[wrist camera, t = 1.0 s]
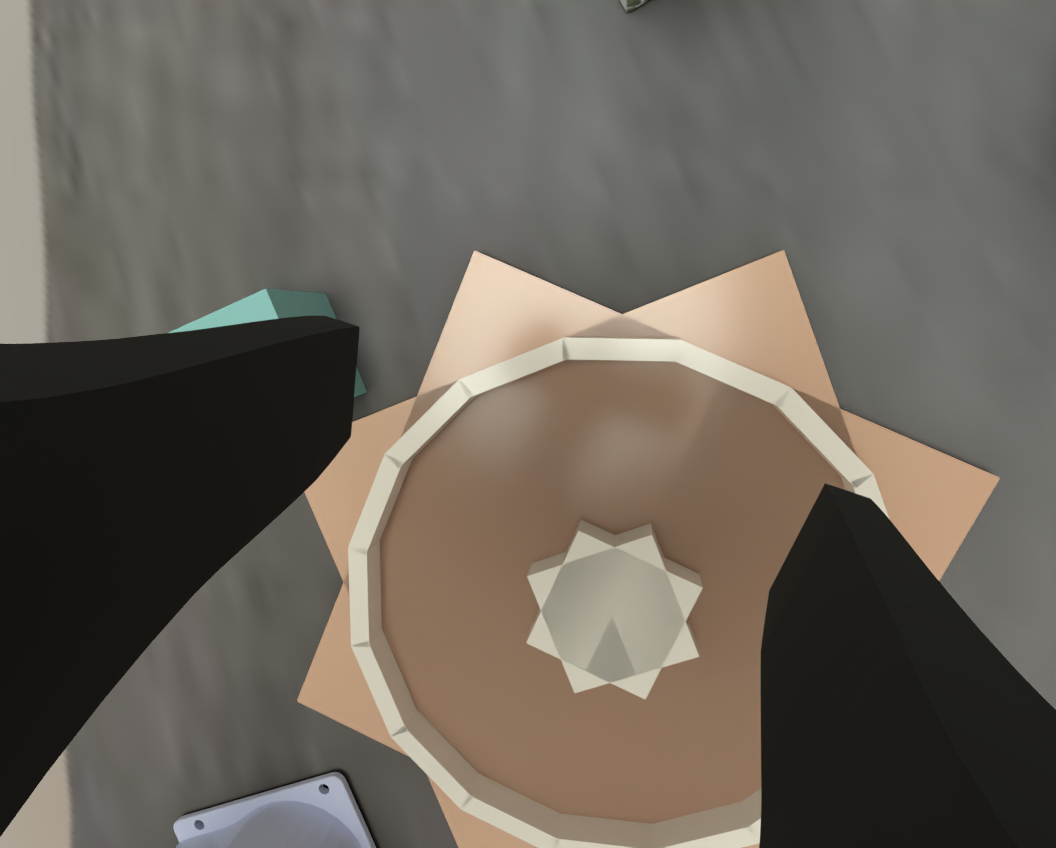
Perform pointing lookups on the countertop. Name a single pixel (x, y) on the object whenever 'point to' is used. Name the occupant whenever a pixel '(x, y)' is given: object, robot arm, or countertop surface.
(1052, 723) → the robot arm
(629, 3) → the syrup box
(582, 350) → the ring tray
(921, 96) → the countertop surface
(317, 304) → the bead
